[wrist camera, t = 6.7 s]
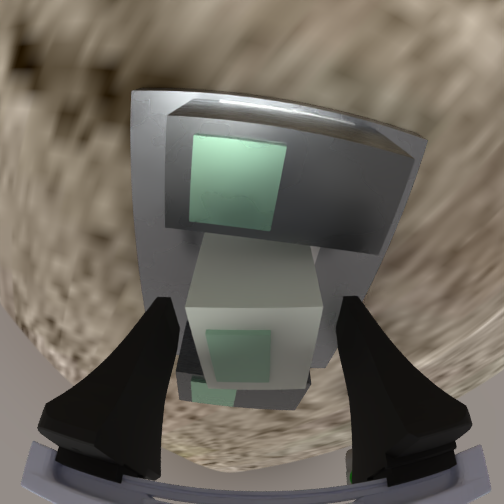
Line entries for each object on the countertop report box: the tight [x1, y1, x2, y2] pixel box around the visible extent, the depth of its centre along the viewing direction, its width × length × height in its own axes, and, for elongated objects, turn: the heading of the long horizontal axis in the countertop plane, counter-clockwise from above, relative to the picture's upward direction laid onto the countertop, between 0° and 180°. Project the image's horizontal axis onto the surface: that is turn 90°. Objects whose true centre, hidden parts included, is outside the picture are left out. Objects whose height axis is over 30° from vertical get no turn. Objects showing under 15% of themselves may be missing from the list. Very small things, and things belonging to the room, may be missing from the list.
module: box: [185, 232, 323, 390], centre depth 12 cm, size 4×5×5 cm
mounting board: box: [131, 88, 428, 410], centre depth 14 cm, size 12×16×5 cm
